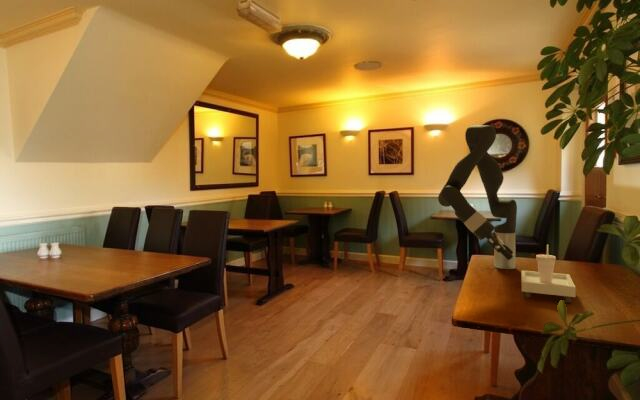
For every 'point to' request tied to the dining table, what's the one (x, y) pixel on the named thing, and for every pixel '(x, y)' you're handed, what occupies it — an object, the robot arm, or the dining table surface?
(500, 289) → the dining table surface
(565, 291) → the cart
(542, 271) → the smoothie
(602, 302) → the dining table surface
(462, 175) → the robot arm
